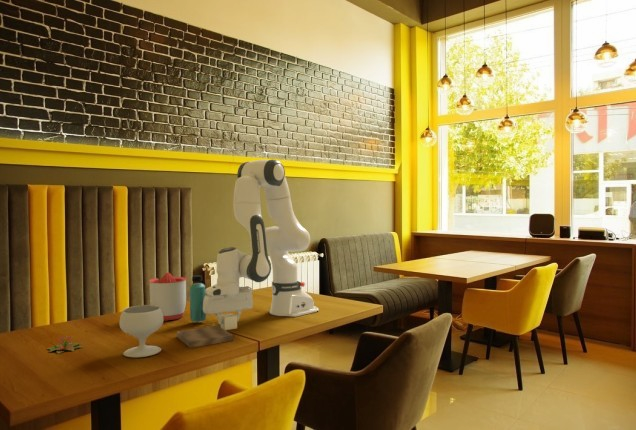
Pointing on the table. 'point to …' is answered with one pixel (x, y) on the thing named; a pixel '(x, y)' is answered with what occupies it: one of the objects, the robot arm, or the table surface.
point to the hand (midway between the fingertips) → (228, 322)
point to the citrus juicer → (169, 295)
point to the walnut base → (204, 336)
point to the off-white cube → (229, 321)
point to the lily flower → (65, 346)
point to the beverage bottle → (197, 300)
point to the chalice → (141, 327)
